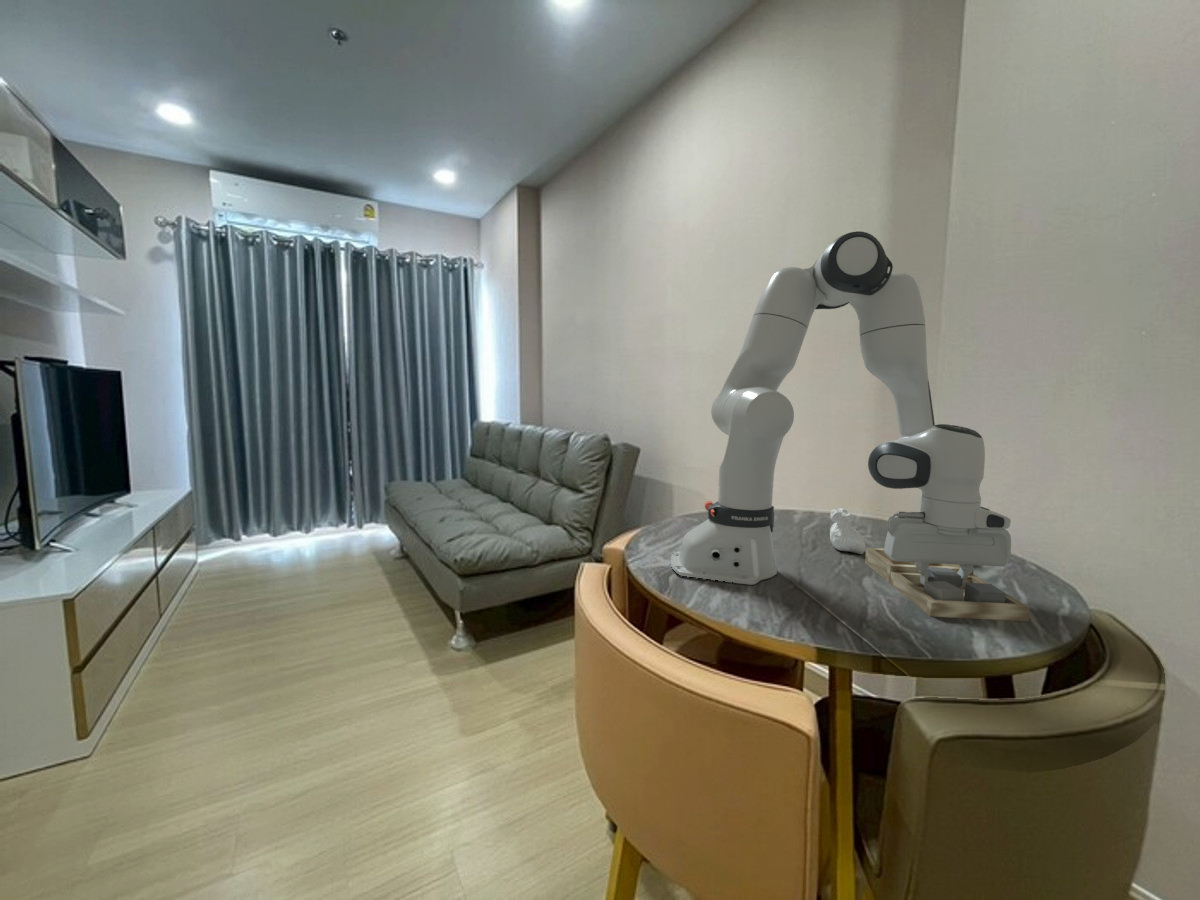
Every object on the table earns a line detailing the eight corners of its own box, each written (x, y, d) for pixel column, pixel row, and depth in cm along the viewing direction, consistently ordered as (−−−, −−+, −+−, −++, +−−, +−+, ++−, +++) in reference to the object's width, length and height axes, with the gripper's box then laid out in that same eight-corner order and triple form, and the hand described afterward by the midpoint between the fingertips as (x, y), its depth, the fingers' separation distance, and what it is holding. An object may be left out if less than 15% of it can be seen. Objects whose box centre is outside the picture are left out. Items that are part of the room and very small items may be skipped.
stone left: (939, 613, 83) (941, 591, 83) (922, 603, 87) (924, 581, 86) (961, 612, 83) (963, 590, 83) (943, 602, 87) (945, 581, 87)
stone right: (977, 614, 83) (979, 591, 82) (963, 603, 87) (965, 582, 86) (1003, 615, 82) (1006, 593, 82) (988, 605, 86) (990, 583, 86)
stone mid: (935, 595, 90) (937, 574, 89) (924, 587, 94) (925, 567, 93) (959, 596, 89) (961, 575, 89) (946, 588, 93) (948, 568, 93)
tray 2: (929, 619, 82) (931, 602, 82) (889, 586, 96) (890, 571, 96) (1028, 624, 80) (1030, 607, 80) (972, 589, 94) (974, 575, 94)
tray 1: (889, 585, 96) (890, 566, 96) (864, 565, 107) (866, 547, 107) (971, 589, 95) (973, 569, 94) (938, 568, 106) (940, 550, 105)
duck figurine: (831, 550, 124) (806, 516, 123) (855, 532, 124) (830, 498, 123) (856, 567, 113) (829, 529, 111) (883, 547, 112) (856, 509, 111)
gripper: (897, 515, 88) (890, 588, 89) (1021, 519, 85) (1012, 595, 87) (881, 507, 94) (875, 575, 96) (996, 511, 92) (988, 581, 93)
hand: (941, 585), depth 91 cm, fingers closed on stone mid, 4 cm apart
